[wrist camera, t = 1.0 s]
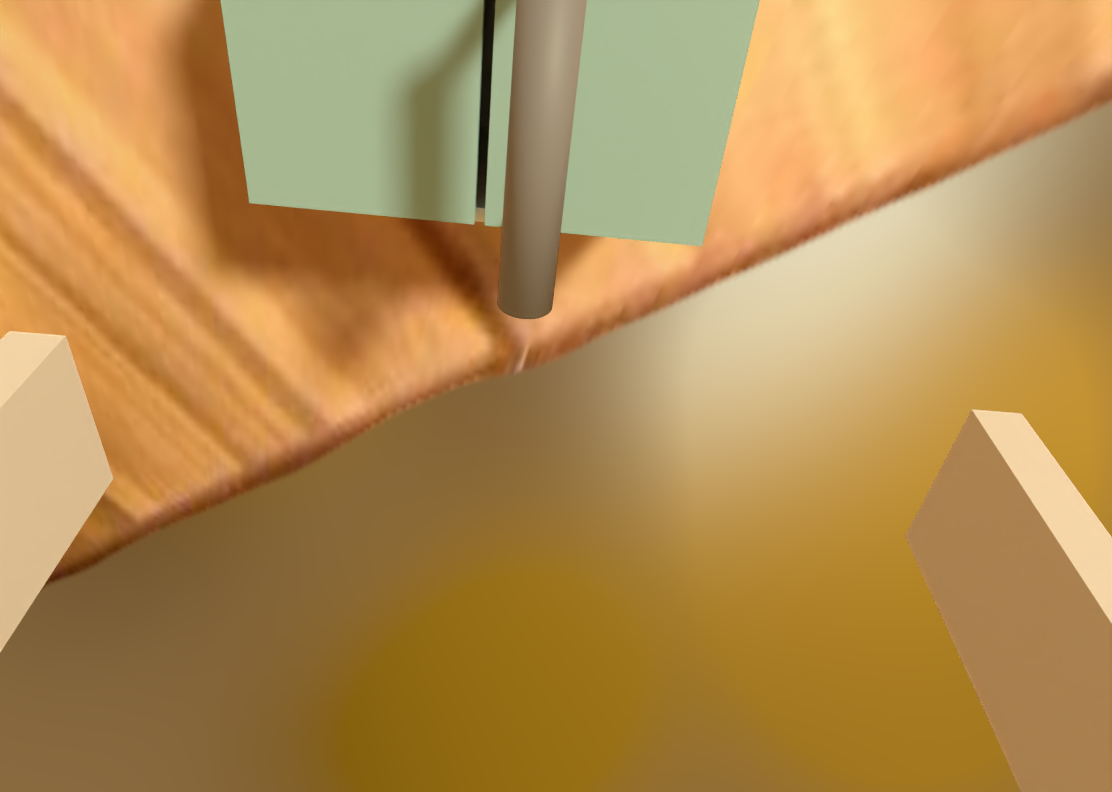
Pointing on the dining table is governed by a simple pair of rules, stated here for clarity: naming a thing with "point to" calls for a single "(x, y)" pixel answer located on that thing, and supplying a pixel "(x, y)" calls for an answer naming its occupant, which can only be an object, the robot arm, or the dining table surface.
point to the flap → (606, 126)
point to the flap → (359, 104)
